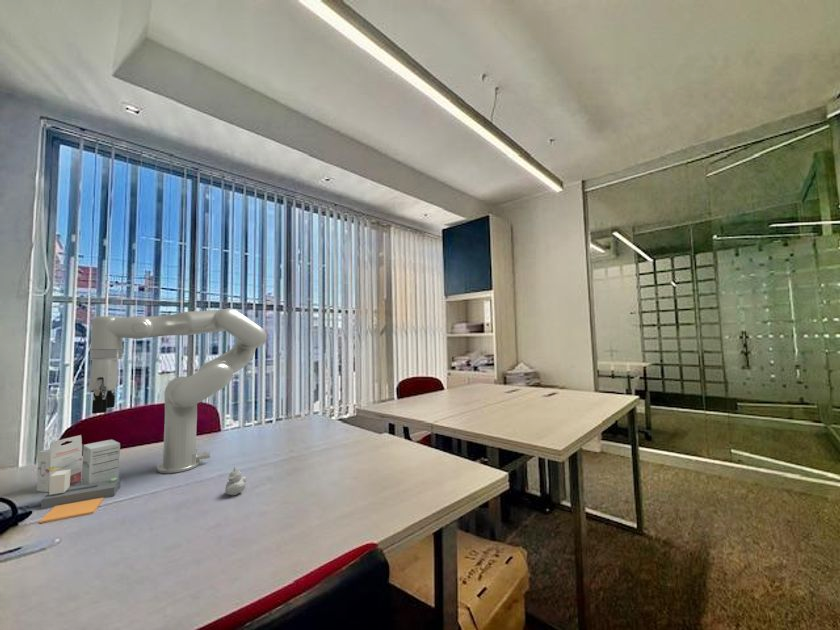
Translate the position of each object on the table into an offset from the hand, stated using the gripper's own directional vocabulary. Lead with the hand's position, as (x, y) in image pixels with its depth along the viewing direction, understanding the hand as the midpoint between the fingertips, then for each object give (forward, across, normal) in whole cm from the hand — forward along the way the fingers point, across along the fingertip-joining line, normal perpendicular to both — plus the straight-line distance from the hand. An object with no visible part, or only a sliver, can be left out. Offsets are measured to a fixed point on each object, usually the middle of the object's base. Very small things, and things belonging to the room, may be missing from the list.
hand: (103, 410), depth 109 cm
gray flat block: (+23, +9, -2) cm, 25 cm away
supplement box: (+23, 0, 0) cm, 23 cm away
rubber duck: (+23, +28, +37) cm, 52 cm away
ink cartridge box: (+23, -5, -11) cm, 26 cm away
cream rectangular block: (+21, +9, -6) cm, 23 cm away
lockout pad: (+23, +18, -1) cm, 29 cm away
